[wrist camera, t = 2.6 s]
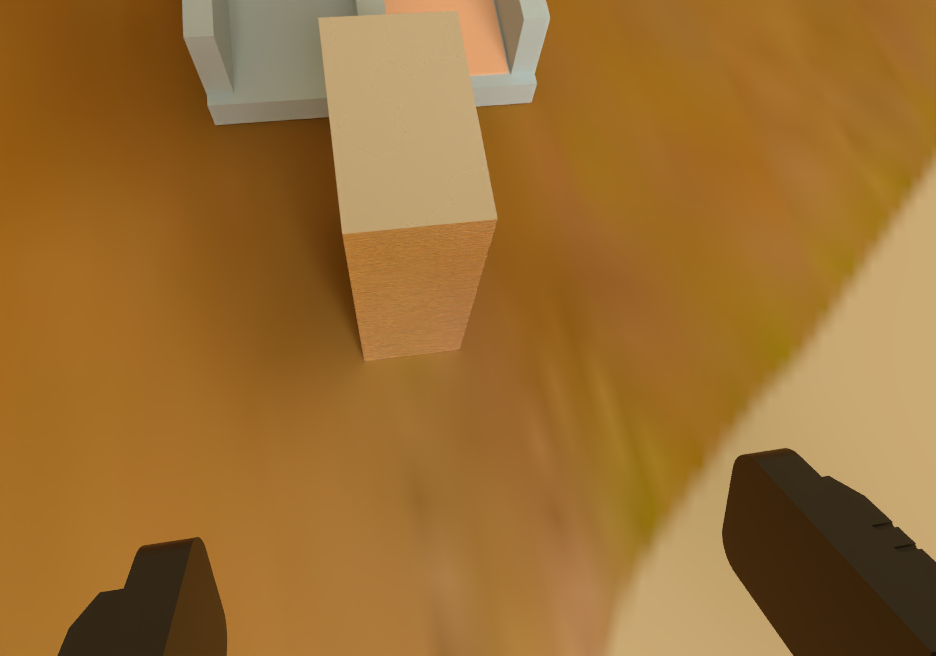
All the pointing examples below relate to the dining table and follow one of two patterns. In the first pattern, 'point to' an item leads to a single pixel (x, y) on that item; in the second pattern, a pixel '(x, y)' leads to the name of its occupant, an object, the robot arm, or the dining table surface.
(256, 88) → the slot rack
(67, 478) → the dining table surface
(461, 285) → the panel
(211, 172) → the dining table surface
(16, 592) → the dining table surface
